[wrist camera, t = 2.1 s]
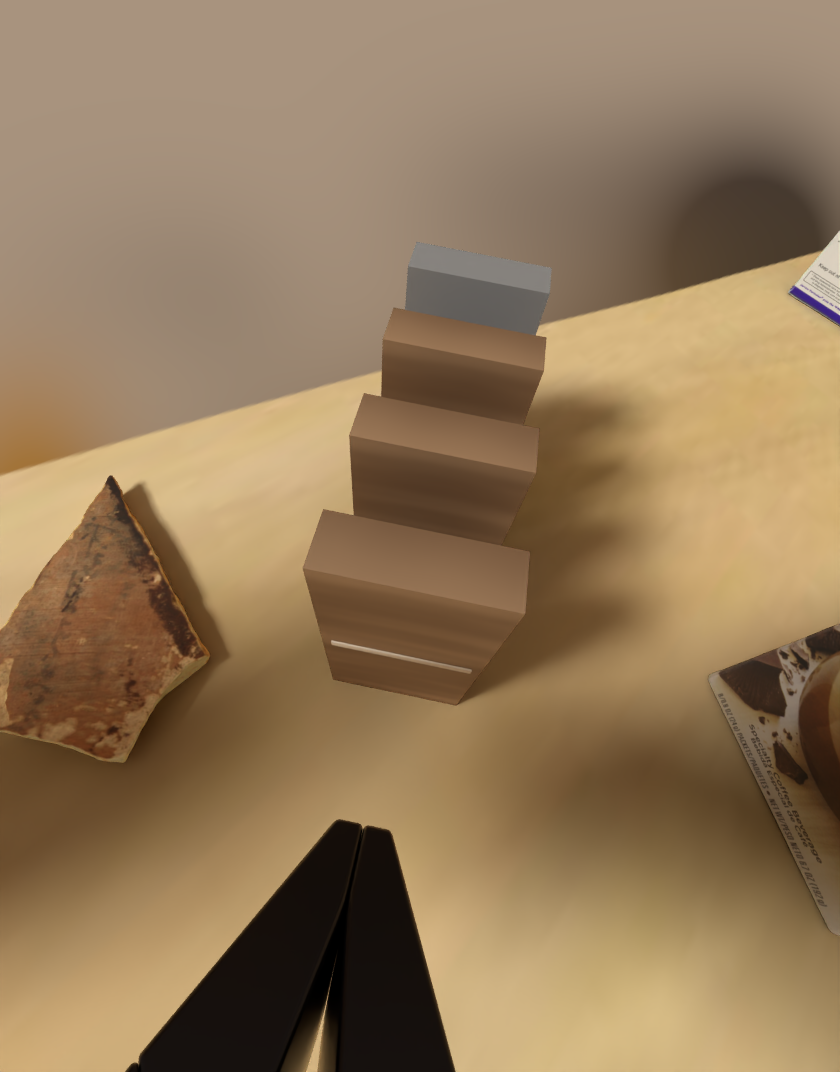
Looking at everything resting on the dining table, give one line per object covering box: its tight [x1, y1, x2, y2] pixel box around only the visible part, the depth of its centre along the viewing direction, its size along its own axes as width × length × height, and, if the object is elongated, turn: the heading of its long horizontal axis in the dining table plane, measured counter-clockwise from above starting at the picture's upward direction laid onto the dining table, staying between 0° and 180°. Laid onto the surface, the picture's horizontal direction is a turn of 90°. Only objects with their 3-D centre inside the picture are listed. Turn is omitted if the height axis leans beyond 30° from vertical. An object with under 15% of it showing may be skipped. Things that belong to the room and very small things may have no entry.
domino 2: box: [381, 308, 546, 425], centre depth 19 cm, size 2×5×10 cm, turn 79°
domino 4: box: [303, 509, 530, 705], centre depth 15 cm, size 2×5×10 cm, turn 80°
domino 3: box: [349, 393, 540, 545], centre depth 17 cm, size 2×5×10 cm, turn 80°
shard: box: [0, 476, 210, 763], centre depth 20 cm, size 11×8×2 cm
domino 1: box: [405, 242, 551, 335], centre depth 21 cm, size 2×5×10 cm, turn 80°
